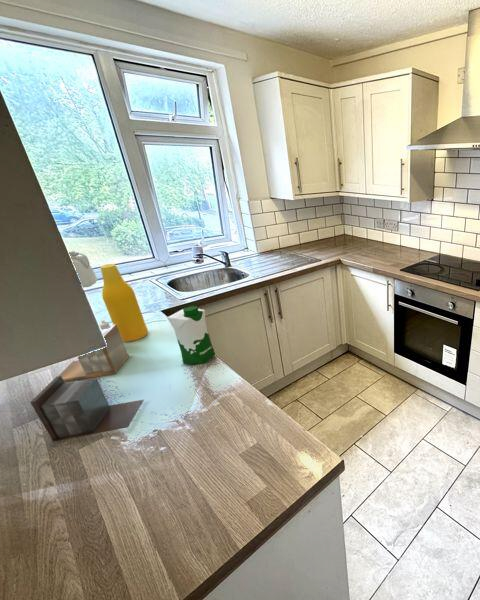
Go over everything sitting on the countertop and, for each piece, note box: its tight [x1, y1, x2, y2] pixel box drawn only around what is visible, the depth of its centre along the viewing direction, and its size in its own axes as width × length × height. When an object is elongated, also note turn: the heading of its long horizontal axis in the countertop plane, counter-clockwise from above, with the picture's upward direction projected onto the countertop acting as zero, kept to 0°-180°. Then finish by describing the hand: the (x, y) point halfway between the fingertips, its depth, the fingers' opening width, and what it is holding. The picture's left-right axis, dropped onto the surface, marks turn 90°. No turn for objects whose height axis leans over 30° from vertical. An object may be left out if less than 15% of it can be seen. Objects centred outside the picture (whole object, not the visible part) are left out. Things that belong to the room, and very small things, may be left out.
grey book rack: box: [30, 375, 145, 443], centre depth 85 cm, size 16×11×13 cm
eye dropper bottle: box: [99, 319, 111, 330], centre depth 117 cm, size 4×6×12 cm
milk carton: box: [166, 305, 216, 366], centre depth 110 cm, size 9×9×20 cm
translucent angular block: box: [58, 324, 131, 383], centre depth 106 cm, size 16×11×13 cm
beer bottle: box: [99, 263, 149, 343], centre depth 122 cm, size 9×9×29 cm
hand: (55, 305), depth 85 cm, fingers closed on white book, 2 cm apart
